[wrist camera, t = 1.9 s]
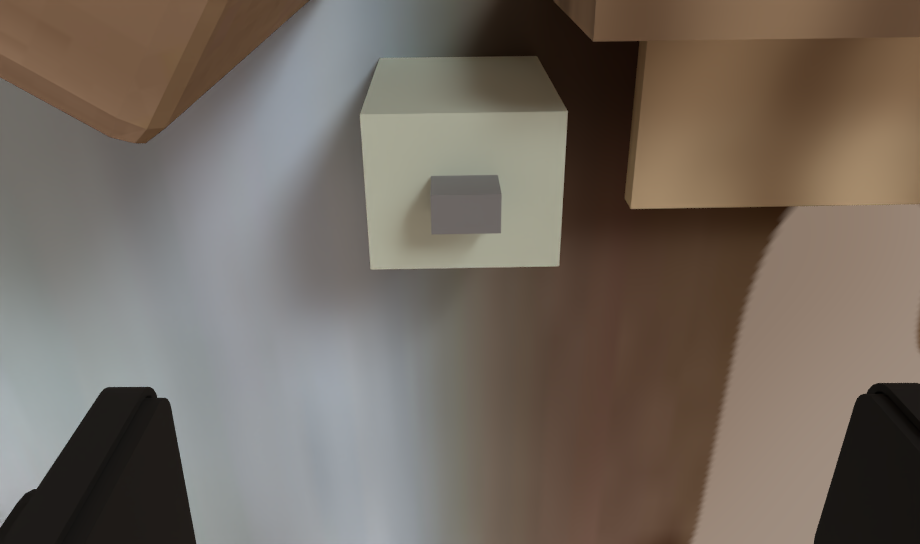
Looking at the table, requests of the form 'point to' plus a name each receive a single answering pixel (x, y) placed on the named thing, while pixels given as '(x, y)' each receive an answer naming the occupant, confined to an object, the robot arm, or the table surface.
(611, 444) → the table surface
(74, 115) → the wooden block
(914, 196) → the brown box
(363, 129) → the cabinet
